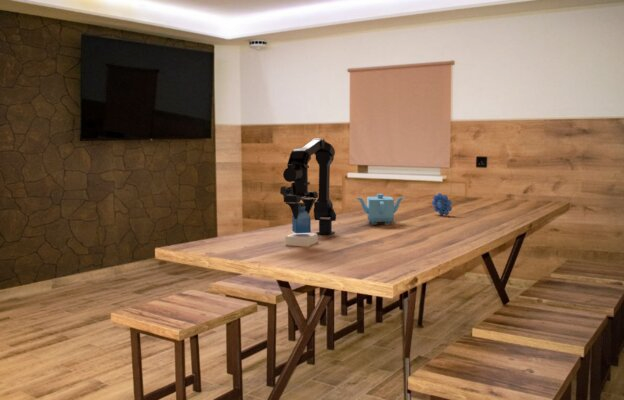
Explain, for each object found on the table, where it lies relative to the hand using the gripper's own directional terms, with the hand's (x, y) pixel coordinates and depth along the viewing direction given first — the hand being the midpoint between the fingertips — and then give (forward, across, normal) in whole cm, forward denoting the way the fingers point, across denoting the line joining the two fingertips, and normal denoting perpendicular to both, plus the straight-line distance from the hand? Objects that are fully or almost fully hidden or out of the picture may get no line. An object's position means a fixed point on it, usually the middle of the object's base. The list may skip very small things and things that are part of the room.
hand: (301, 217), depth 247 cm
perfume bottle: (+6, 0, 0) cm, 6 cm away
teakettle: (+12, -65, +8) cm, 66 cm away
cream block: (+11, 0, 0) cm, 11 cm away
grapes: (+12, -102, +28) cm, 106 cm away
